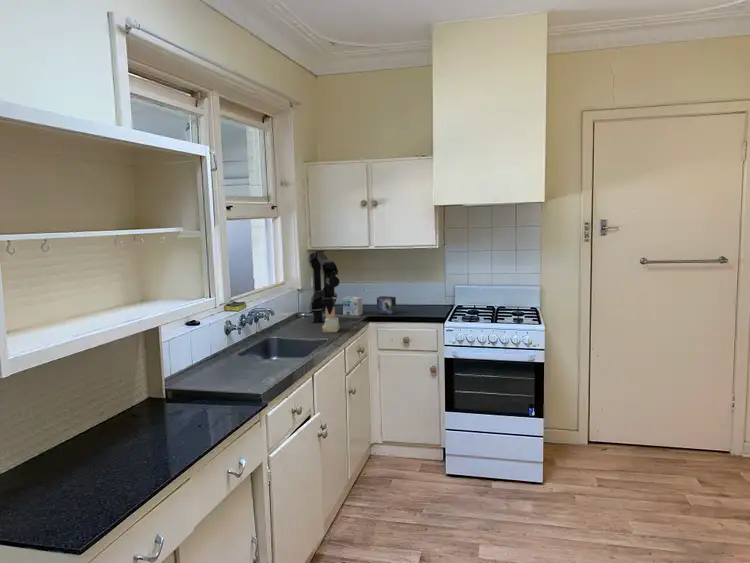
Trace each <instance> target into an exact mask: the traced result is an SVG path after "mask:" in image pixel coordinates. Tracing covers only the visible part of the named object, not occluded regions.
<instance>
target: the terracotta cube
mask: <svg viewBox="0 0 750 563" xmlns="http://www.w3.org/2000/svg"><path fill="white" fill-rule="evenodd" d="M335 308H336V307H335V306H334V307H333V309H332V312H331V314H329V313H328V310H327V307H326V309H325V311H324V312H325V317H326V318H329V317H336V313H335V312H336V309H335Z"/></svg>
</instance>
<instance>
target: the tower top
mask: <svg viewBox="0 0 750 563" xmlns="http://www.w3.org/2000/svg"><path fill="white" fill-rule="evenodd" d="M324 324H325V326H337V325H338V324H339V325H340V323H339V317H336V316H334V317H326V318H324Z"/></svg>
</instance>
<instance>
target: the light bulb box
mask: <svg viewBox="0 0 750 563" xmlns="http://www.w3.org/2000/svg"><path fill="white" fill-rule="evenodd" d="M342 310H343V311H342V314H343V316H354V315H355V316H360V315H363V314H364V312H363V297H362V296H345V297H343V298H342Z"/></svg>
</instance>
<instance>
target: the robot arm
mask: <svg viewBox="0 0 750 563" xmlns="http://www.w3.org/2000/svg"><path fill="white" fill-rule="evenodd" d="M307 259H308V263H309V267H310V268H311V270H312V286H313V290H312V291H313V295H312V296H311V299H310V304H309V307H308V309H309V312H310V313H312V320H311V323H323V322H325V318H323V317H324V316H323V315H324V314H323V312H326V311H325V309H326V307H327V310H328V313H329V314H331V312H332V309H333V307H335V304H336V302H337V298H338V293H337V292H336V290H335V288H336V287H338V286H339V285H340V279H339V277H338V276H336V275H339V269H338V267H337V265H336V263H335V261H333V260H331V259H329V258H328V257H327V255H326V253H325V251H324V250H321V249H320V250H315V251H314V252H312V253H310V254H309V255H308V258H307ZM322 276H323V288H322V278H321V277H322Z"/></svg>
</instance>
